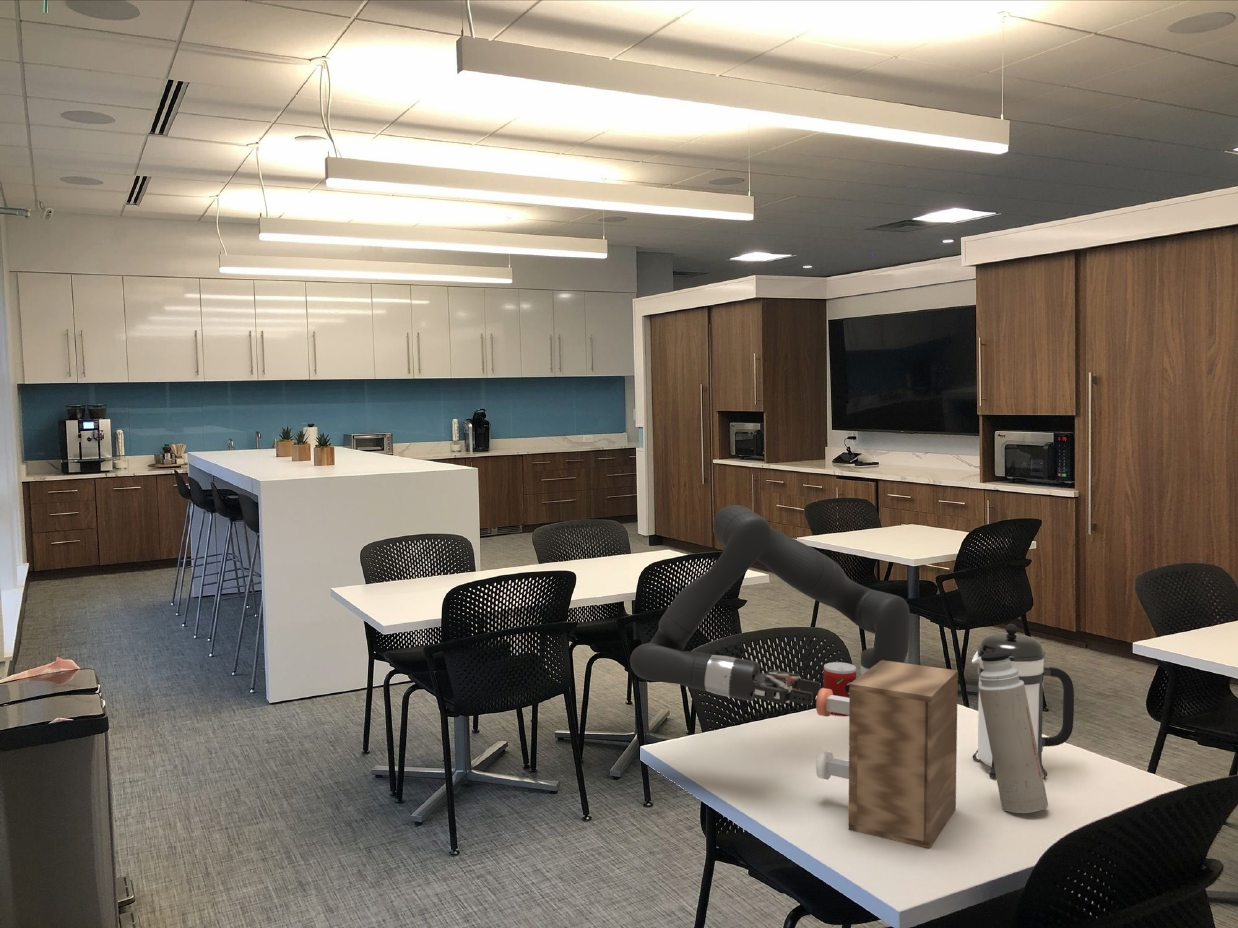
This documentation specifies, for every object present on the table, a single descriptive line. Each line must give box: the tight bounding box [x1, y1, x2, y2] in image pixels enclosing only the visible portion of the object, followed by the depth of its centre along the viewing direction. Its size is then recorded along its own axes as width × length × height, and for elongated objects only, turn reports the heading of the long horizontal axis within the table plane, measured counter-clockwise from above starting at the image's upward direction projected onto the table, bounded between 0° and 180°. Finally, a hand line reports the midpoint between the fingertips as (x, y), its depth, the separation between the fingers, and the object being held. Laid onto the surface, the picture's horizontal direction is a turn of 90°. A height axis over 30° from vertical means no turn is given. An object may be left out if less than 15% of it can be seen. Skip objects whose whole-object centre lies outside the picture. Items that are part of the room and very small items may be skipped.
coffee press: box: [971, 623, 1075, 780], centre depth 196 cm, size 17×16×30 cm
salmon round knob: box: [815, 687, 849, 717], centre depth 177 cm, size 14×5×5 cm, turn 57°
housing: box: [848, 660, 959, 849], centre depth 173 cm, size 14×18×26 cm
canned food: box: [823, 661, 857, 717], centre depth 233 cm, size 8×8×11 cm
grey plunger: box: [815, 750, 849, 781], centre depth 178 cm, size 14×5×5 cm, turn 57°
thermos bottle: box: [978, 652, 1049, 814], centre depth 178 cm, size 8×8×28 cm
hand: (816, 693), depth 181 cm, fingers open, 8 cm apart
